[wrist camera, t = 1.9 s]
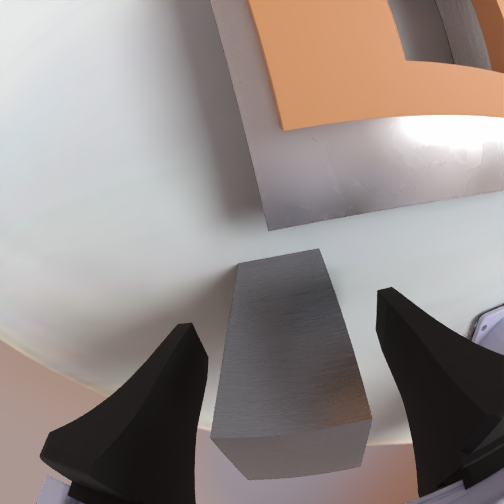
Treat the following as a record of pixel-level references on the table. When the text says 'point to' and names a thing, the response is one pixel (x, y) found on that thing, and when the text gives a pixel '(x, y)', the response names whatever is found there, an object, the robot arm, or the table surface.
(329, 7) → the bracket
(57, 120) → the table surface
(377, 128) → the peg hole board
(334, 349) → the grey metal square peg
